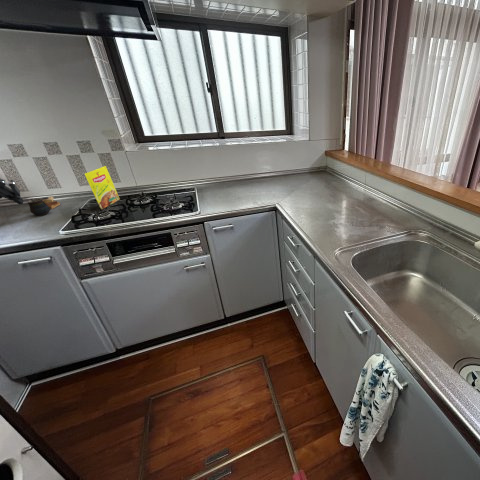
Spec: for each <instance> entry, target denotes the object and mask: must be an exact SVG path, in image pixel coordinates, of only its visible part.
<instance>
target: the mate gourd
mask: <svg viewBox="0 0 480 480" xmlns="http://www.w3.org/2000/svg"><path fill="white" fill-rule="evenodd" d="M39 198H40V197H39ZM39 198H30V199H29V200H28V201H27V204H28V206H29V207H28V208H29V211H30V213H31V214H32V215H33V216H37V217H42V216H45V215H48V214H49V213H50V212H51V209H50V208H49V206H48V205H47V204H46V203H44V202H43V200H42V199H39Z"/></svg>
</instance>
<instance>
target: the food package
mask: <svg viewBox="0 0 480 480" xmlns="http://www.w3.org/2000/svg"><path fill="white" fill-rule="evenodd" d="M84 176H85V178H86V181H87V183H88V185H89V187H90V190H91V191H92V193H93V195H94V198H95V200H96V203H97V204H98V207H99V208H100V210H103V209H106V208H107V207H109V206H111V205H113V204H115V203H116V202H118V201H120V200H121V197H119V194H118V191H117V189H116V186H115V184H114V181H113V179H112V177H111V174H110V173H109V170H108V168H107V165H104V166H102V167H99V168H96V169H93V170H90V171H88V172H84Z"/></svg>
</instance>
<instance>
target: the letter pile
mask: <svg viewBox="0 0 480 480" xmlns="http://www.w3.org/2000/svg"><path fill="white" fill-rule="evenodd" d="M39 199H42V200H43V202H44V203H46V204H47V205H48V206H49V208H50V210H53V209H55V208H56V207H58V206H60V205H61V203H60V201H57V200H55V198H54V196H45V197H39Z"/></svg>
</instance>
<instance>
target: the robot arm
mask: <svg viewBox="0 0 480 480" xmlns="http://www.w3.org/2000/svg"><path fill="white" fill-rule="evenodd" d="M3 198H4V199H7V200H9V201H13V202H14V203H16V204H18V205H24V199H23V198H22V197H21V191H20V189H19V188H18V187H17V185H16V182H15V180H14V179H10V181H7V180H5V179H3V178H0V199H3Z"/></svg>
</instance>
